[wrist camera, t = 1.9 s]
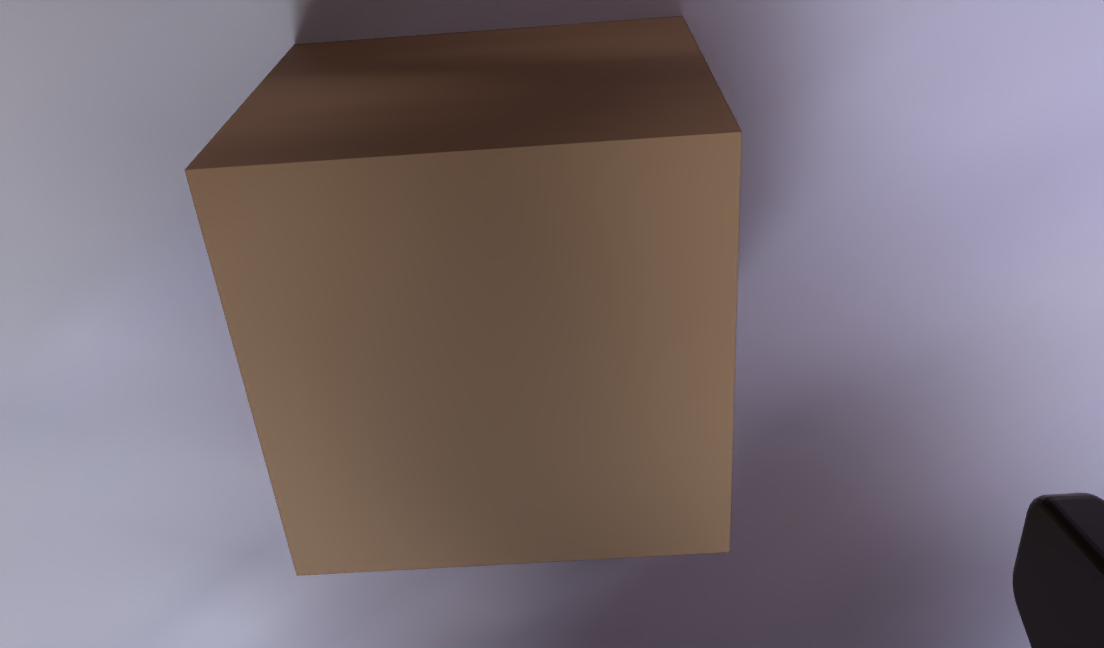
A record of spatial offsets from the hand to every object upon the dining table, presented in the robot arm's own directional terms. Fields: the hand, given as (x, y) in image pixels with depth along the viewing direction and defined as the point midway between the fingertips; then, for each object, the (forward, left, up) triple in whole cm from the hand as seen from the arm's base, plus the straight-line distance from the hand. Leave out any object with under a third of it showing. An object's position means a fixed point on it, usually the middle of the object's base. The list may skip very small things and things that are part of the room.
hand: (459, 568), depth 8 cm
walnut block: (0, 0, -7) cm, 7 cm away
